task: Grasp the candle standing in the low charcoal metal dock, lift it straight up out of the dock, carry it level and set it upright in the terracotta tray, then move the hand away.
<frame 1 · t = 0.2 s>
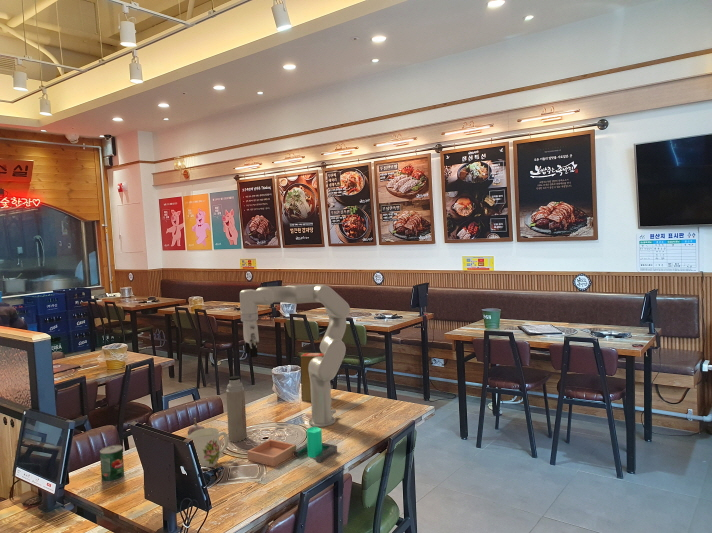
hand: (251, 354, 230), 37 cm above the table, tool pointing down, fingers open, 9 cm apart
food packaging: (315, 399, 283), on the table
candle: (315, 455, 208), on the table
garlic bulb: (196, 435, 236), on the table
canned tomato: (113, 477, 195), on the table
pitcher: (209, 464, 203), on the table
dock: (315, 454, 208), on the table
thermos bottle: (237, 439, 229), on the table
tray: (272, 456, 208), on the table
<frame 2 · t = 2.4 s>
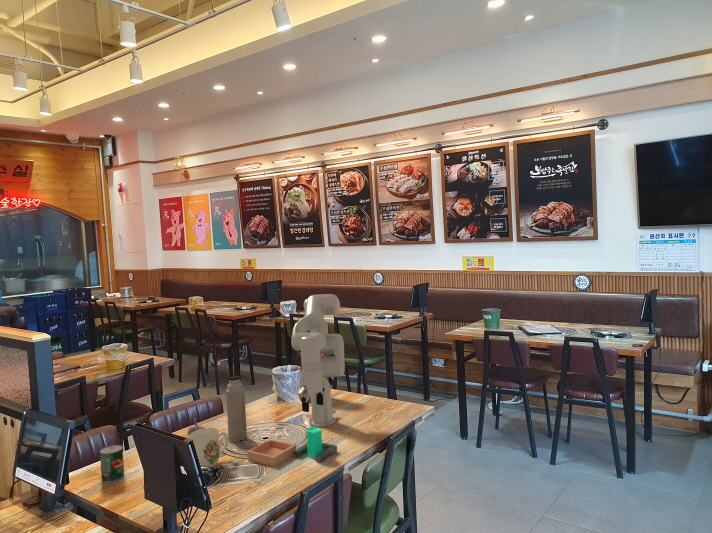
hand: (312, 408, 207), 19 cm above the table, tool pointing down, fingers open, 9 cm apart
nothing on the table moved.
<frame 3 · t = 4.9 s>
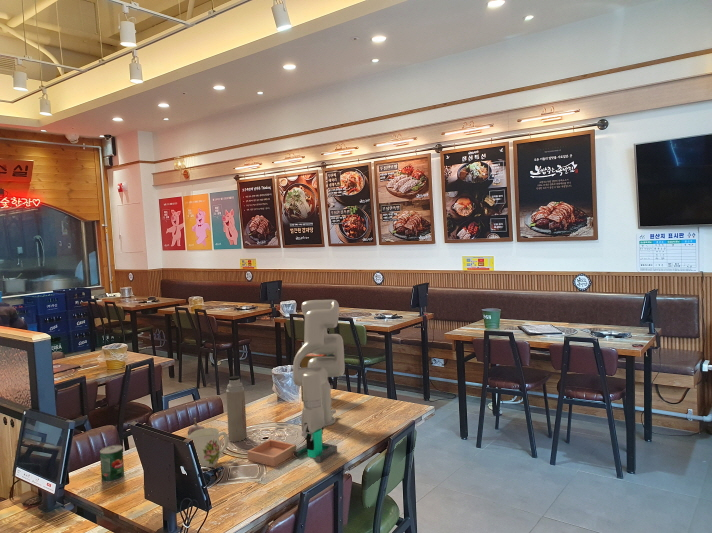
hand: (314, 446, 208), 4 cm above the table, tool pointing down, fingers closed on candle, 5 cm apart
candle: (315, 455, 208), on the table, touching gripper
everything else where it was.
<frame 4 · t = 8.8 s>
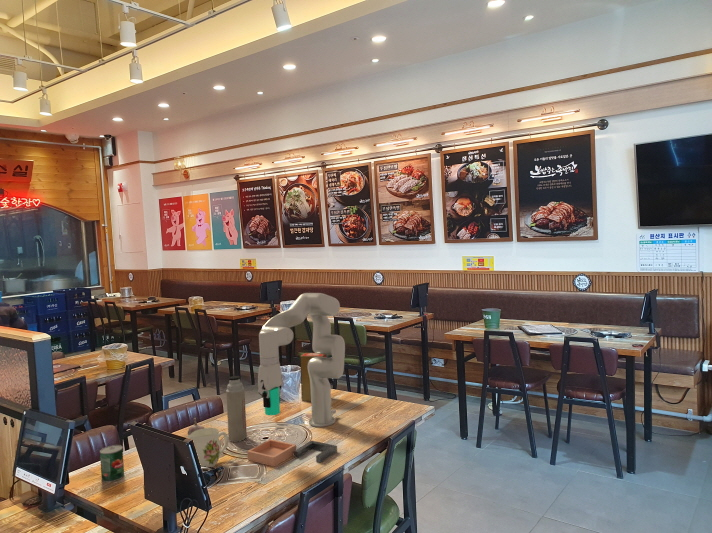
hand: (271, 404, 207), 21 cm above the table, tool pointing down, fingers closed on candle, 5 cm apart
candle: (272, 413, 207), point 18 cm above the table, touching gripper
everything else where it was.
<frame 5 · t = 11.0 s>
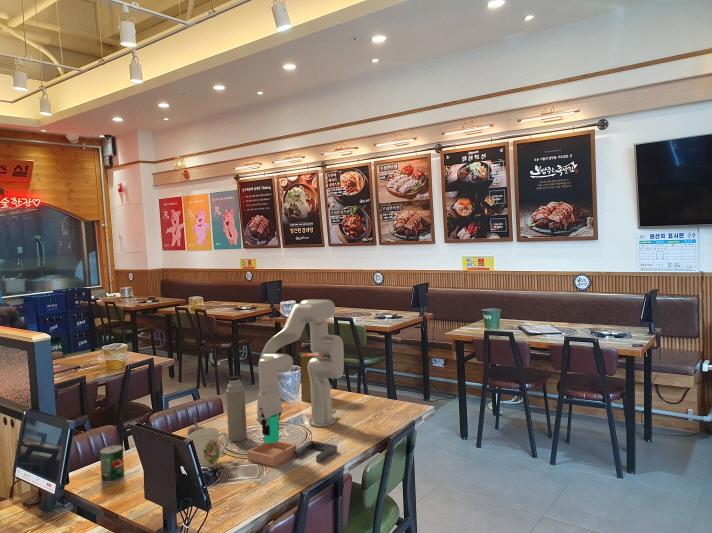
hand: (271, 432, 207), 10 cm above the table, tool pointing down, fingers closed on candle, 5 cm apart
candle: (271, 440, 208), point 6 cm above the table, touching gripper
everything else where it was.
when the fingers open (6 cm above the table, at t = 12.7 s): candle drops 1 cm, resting on tray.
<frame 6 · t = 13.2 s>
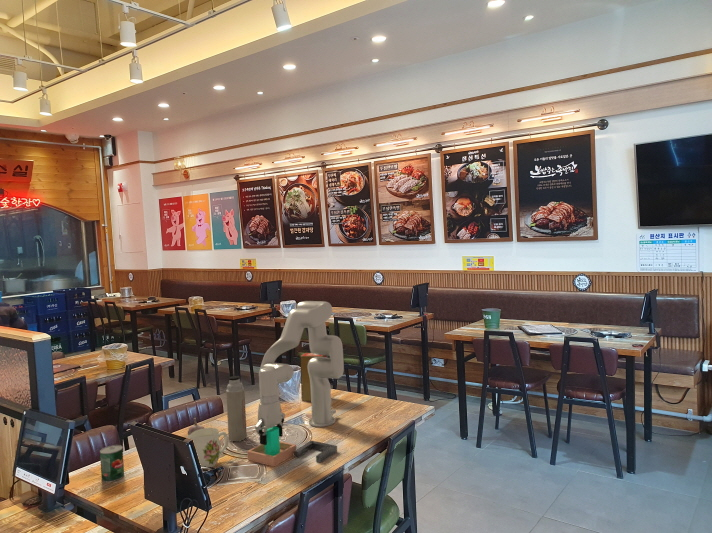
hand: (271, 439, 208), 7 cm above the table, tool pointing down, fingers open, 9 cm apart
candle: (272, 454, 208), point 1 cm above the table, touching tray
everything else where it was.
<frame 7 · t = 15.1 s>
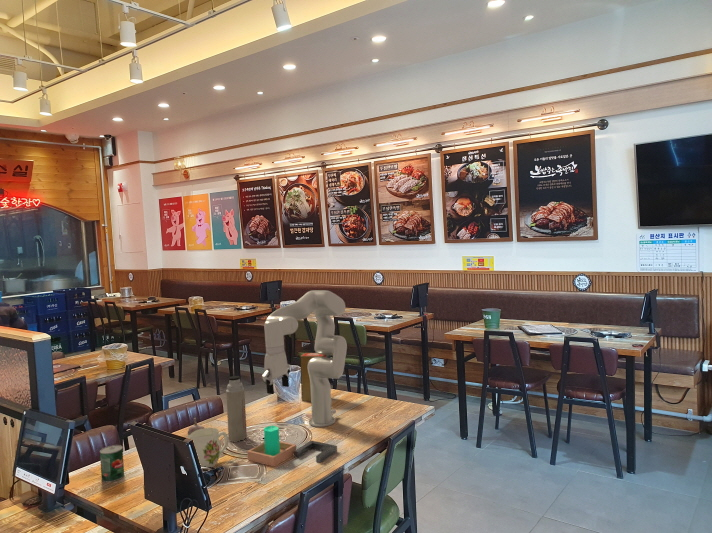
hand: (278, 389, 213), 26 cm above the table, tool pointing down, fingers open, 9 cm apart
nothing on the table moved.
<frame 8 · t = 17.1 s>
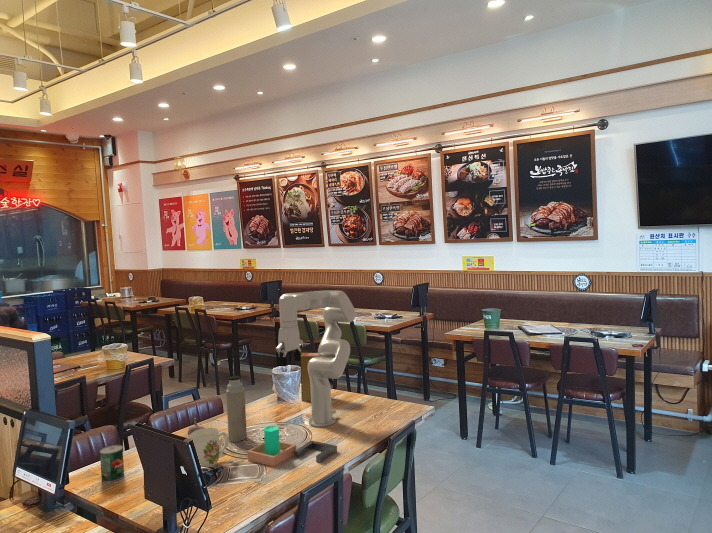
hand: (290, 363, 222), 34 cm above the table, tool pointing down, fingers open, 9 cm apart
nothing on the table moved.
at the end: candle inside the target area on the tray (0.3 cm from its centre), point 0.8 cm above the tray's base; candle tilted 0°; the gripper is holding nothing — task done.
